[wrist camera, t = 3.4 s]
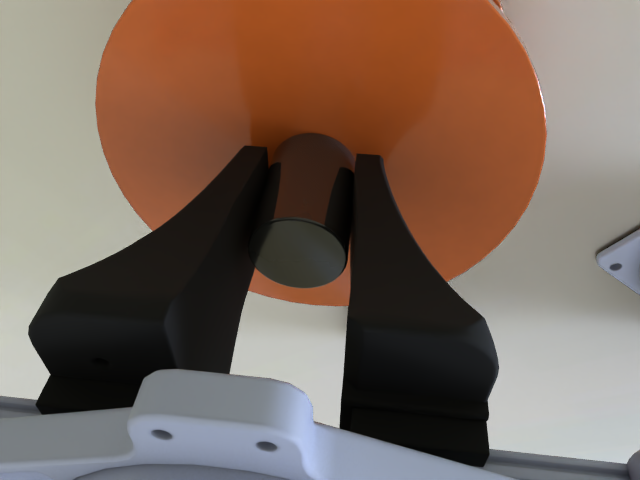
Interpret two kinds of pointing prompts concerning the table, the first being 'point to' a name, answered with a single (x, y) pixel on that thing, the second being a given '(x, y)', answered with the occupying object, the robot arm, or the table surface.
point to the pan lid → (327, 123)
